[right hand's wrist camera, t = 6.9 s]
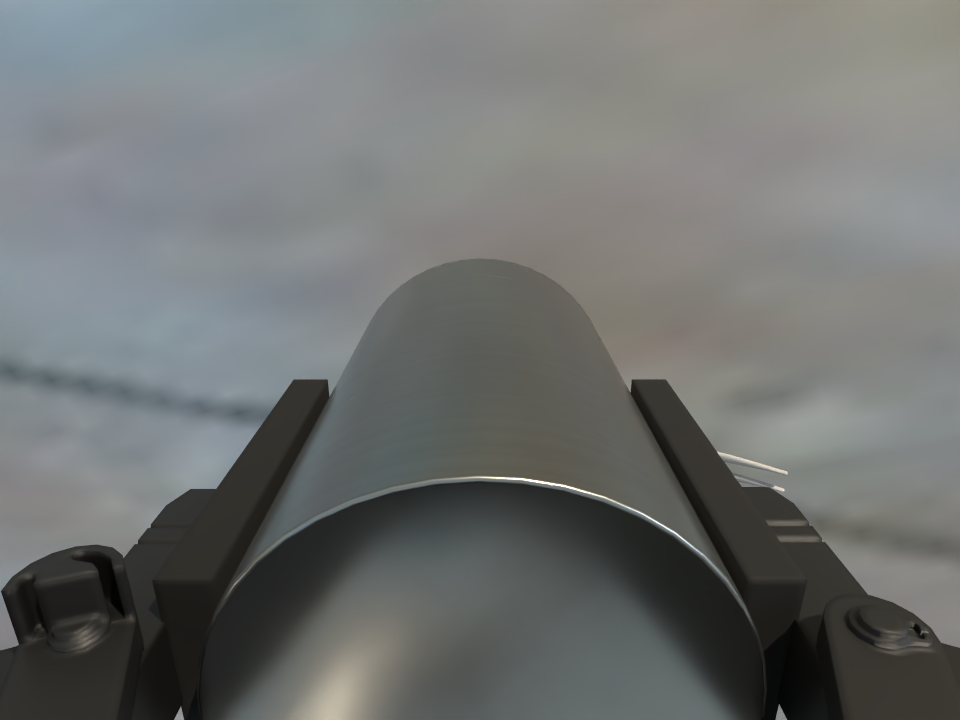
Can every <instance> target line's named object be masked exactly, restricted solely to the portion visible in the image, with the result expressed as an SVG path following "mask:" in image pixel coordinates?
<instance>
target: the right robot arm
mask: <svg viewBox="0 0 960 720" xmlns="http://www.w3.org/2000/svg"><path fill="white" fill-rule="evenodd" d="M631 395H632V397H633V399H634V401H635V402H636V404H637V406H638V408H639V410H640V412H641V413H642V415H643V417H644V419H645V421H646V423H647V424H648V426H649V428H650V430H651V432H652V434H653V435H654V437H655V439H656V441H657V443H658V445H659V446H660V448H661V450H662V452H663V454H664V456H665V457H666V459H667V461H668V463H669V465H670V467H671V468H672V470H673V472H674V474H675V476H676V478H677V479H678V481H679V483H680V485H681V487H682V489H683V490H684V492H685V494H686V496H687V498H688V500H689V501H690V503H691V505H692V507H693V509H694V511H695V512H696V514H697V516H698V518H699V520H700V522H701V523H702V525H703V527H704V529H705V531H706V533H707V534H708V536H709V538H710V540H711V542H712V544H713V545H714V547H715V549H716V551H717V553H718V555H719V556H720V558H721V560H722V562H723V564H724V566H725V567H726V569H727V571H728V573H729V575H730V577H731V578H732V580H733V582H734V584H735V586H736V588H737V589H738V591H739V593H740V595H741V597H742V599H743V600H744V602H745V604H746V606H747V608H748V611H749V613H750V615H751V617H752V620H753V622H754V624H755V626H756V629H757V631H758V634H759V638H760V642H761V646H762V650H763V654H764V658H765V667H766V683H767V694H766V703H765V712H764V720H775V719H776V714H777V710H778V706H779V704H780V706H781V708H782V710H783V712H784V714H785V716H786V718H787V720H960V648H958V647H954V646H950V645H947V644H943V643H941V642H940V641H939V639H938V638H937V636H936V635H935V633H934V632H933V631H932V629H931V628H930V627H929V626H928V625H927V624H925V623H924V622H923V621H922V620H921V619H919V618H918V617H917V616H916V615H915V614H913V613H911V612H909V611H908V610H906V609H904V608H902V607H900V606H898V605H896V604H895V603H893V602H890V601H886V600H883V599H880V598H877V597H874V596H871V595H868V594H867V593H866V592H865V591H864V589H863V588H862V587H861V586H860V584H859V583H858V582H857V581H856V580H855V578H854V577H853V576H852V575H851V573H850V572H849V571H848V570H847V568H846V567H845V566H844V565H843V564H842V562H841V561H840V560H839V559H838V557H837V556H836V555H835V554H834V552H833V551H832V550H831V549H830V548H829V546H828V545H827V544H826V543H825V542H822V538H821V536H820V535H819V534H818V533H817V532H816V530H815V529H814V528H813V527H812V526H809V522H808V520H807V519H806V518H805V517H804V516H803V514H802V513H801V512H800V511H799V509H798V508H797V507H796V506H795V504H794V503H792V502H791V501H789V500H788V499H786V498H785V497H783V496H782V495H780V494H779V493H777V492H776V491H774V490H773V489H771V488H770V487H741V485H740V484H739V482H738V481H737V480H736V478H735V477H734V475H733V474H732V473H731V471H730V470H729V468H728V467H727V465H726V464H725V463H724V461H723V460H722V458H721V457H720V456H719V454H718V453H717V451H716V450H715V448H714V447H713V446H712V444H711V443H710V441H709V440H708V439H707V437H706V436H705V434H704V433H703V432H702V430H701V429H700V427H699V426H698V424H697V423H696V422H695V420H694V419H693V417H692V416H691V415H690V413H689V412H688V410H687V409H686V408H685V406H684V405H683V403H682V402H681V400H680V399H679V398H678V396H677V395H676V393H675V392H674V391H673V389H672V388H671V386H670V385H669V384H668V382H667V381H666V380H632V385H631ZM328 399H329V389H328V380H293V381H292V383H291V384H290V386H289V387H288V389H287V390H286V391H285V393H284V394H283V396H282V397H281V398H280V400H279V401H278V403H277V404H276V406H275V407H274V408H273V410H272V411H271V413H270V414H269V415H268V417H267V418H266V420H265V421H264V422H263V424H262V425H261V427H260V428H259V430H258V431H257V432H256V434H255V435H254V437H253V438H252V439H251V441H250V442H249V444H248V445H247V446H246V448H245V449H244V451H243V452H242V454H241V455H240V456H239V458H238V459H237V461H236V462H235V463H234V465H233V466H232V468H231V469H230V470H229V472H228V473H227V475H226V476H225V478H224V479H223V480H222V482H221V483H220V485H219V486H218V487H217V489H190V490H189V491H187V492H186V493H184V494H183V495H181V496H180V497H178V498H177V499H175V500H174V501H172V502H171V503H169V504H168V505H166V506H165V508H164V509H163V510H162V511H161V513H160V514H159V515H158V516H157V518H156V519H155V520H154V521H153V523H152V524H151V528H148V529H147V530H146V531H145V532H144V534H143V535H142V536H141V537H140V539H139V540H138V544H135V545H134V546H133V547H132V549H131V550H130V551H129V552H128V554H127V555H126V556H125V557H124V559H123V556H122V554H120V553H119V552H118V551H116V550H115V549H114V548H112V547H106V546H101V545H88V546H77V547H73V548H69V549H66V550H62V551H58V552H55V553H52V554H50V555H48V556H46V557H44V558H41V559H39V560H37V561H35V562H33V563H31V564H29V565H28V566H27V567H25V568H24V569H23V570H21V571H20V572H18V573H17V574H16V575H14V576H13V577H12V578H11V579H10V581H9V582H8V583H7V584H6V586H5V587H4V588H3V589H2V591H1V593H2V596H3V599H4V602H5V604H6V607H7V610H8V613H9V616H10V619H11V622H12V625H13V628H14V631H15V634H16V637H17V640H18V643H19V645H18V646H16V647H12V648H9V649H5V650H1V651H0V720H174V718H175V716H176V714H177V713H178V711H179V709H180V707H181V708H182V712H183V716H184V720H200V714H199V707H198V700H197V679H198V663H199V658H200V654H201V649H202V644H203V640H204V636H205V634H206V631H207V629H208V626H209V624H210V622H211V619H212V617H213V614H214V612H215V609H216V607H217V606H218V604H219V602H220V600H221V598H222V596H223V594H224V593H225V591H226V589H227V587H228V585H229V583H230V581H231V580H232V578H233V576H234V574H235V572H236V570H237V568H238V567H239V565H240V563H241V561H242V559H243V557H244V555H245V554H246V552H247V550H248V548H249V546H250V544H251V542H252V541H253V539H254V537H255V535H256V533H257V531H258V529H259V528H260V526H261V524H262V522H263V520H264V518H265V516H266V514H267V513H268V511H269V509H270V507H271V505H272V503H273V501H274V500H275V498H276V496H277V494H278V492H279V490H280V488H281V487H282V485H283V483H284V481H285V479H286V477H287V475H288V474H289V472H290V470H291V468H292V466H293V464H294V462H295V461H296V459H297V457H298V455H299V453H300V451H301V449H302V448H303V446H304V444H305V442H306V440H307V438H308V436H309V435H310V433H311V431H312V429H313V427H314V425H315V423H316V421H317V420H318V418H319V416H320V414H321V412H322V410H323V408H324V407H325V405H326V403H327V401H328Z"/></svg>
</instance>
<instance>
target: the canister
mask: <svg viewBox="0 0 960 720" xmlns="http://www.w3.org/2000/svg"><path fill="white" fill-rule="evenodd" d="M766 694H767V683H766V667H765V658H764V654H763V650H762V646H761V642H760V638H759V634H758V631H757V629H756V626H755V624H754V622H753V620H752V617H751V615H750V613H749V611H748V608H747V606H746V604H745V602H744V600H743V599H742V597H741V595H740V593H739V591H738V589H737V588H736V586H735V584H734V582H733V580H732V578H731V577H730V575H729V573H728V571H727V569H726V567H725V566H724V564H723V562H722V560H721V558H720V556H719V555H718V553H717V551H716V549H715V547H714V545H713V544H712V542H711V540H710V538H709V536H708V534H707V533H706V531H705V529H704V527H703V525H702V523H701V522H700V520H699V518H698V516H697V514H696V512H695V511H694V509H693V507H692V505H691V503H690V501H689V500H688V498H687V496H686V494H685V492H684V490H683V489H682V487H681V485H680V483H679V481H678V479H677V478H676V476H675V474H674V472H673V470H672V468H671V467H670V465H669V463H668V461H667V459H666V457H665V456H664V454H663V452H662V450H661V448H660V446H659V445H658V443H657V441H656V439H655V437H654V435H653V434H652V432H651V430H650V428H649V426H648V424H647V423H646V421H645V419H644V417H643V415H642V413H641V412H640V410H639V408H638V406H637V404H636V402H635V401H634V399H633V397H632V395H631V393H630V391H629V390H628V388H627V386H626V384H625V382H624V380H623V379H622V377H621V375H620V373H619V371H618V369H617V368H616V366H615V364H614V362H613V360H612V358H611V357H610V355H609V353H608V351H607V349H606V347H605V346H604V344H603V342H602V340H601V338H600V336H599V335H598V333H597V331H596V329H595V327H594V325H593V324H592V322H591V320H590V319H589V317H588V316H587V314H586V312H585V311H584V309H583V308H582V307H581V305H580V304H579V303H578V302H577V301H576V300H575V299H574V297H573V296H572V295H571V294H570V293H568V292H567V291H566V290H565V289H564V288H563V287H561V286H560V285H559V284H558V283H556V282H555V281H553V280H552V279H550V278H548V277H547V276H545V275H543V274H541V273H539V272H537V271H535V270H533V269H531V268H528V267H525V266H522V265H519V264H516V263H512V262H507V261H501V260H494V259H469V260H460V261H455V262H450V263H445V264H442V265H440V266H437V267H434V268H431V269H428V270H426V271H424V272H422V273H420V274H418V275H417V276H415V277H413V278H411V279H410V280H409V281H407V282H406V283H404V284H403V285H401V286H400V287H399V288H398V289H397V290H396V291H394V292H393V293H392V294H391V295H390V296H389V297H388V298H387V299H386V300H385V302H384V303H383V304H382V305H381V306H380V308H379V309H378V310H377V312H376V313H375V315H374V316H373V318H372V320H371V321H370V323H369V325H368V327H367V329H366V330H365V332H364V334H363V336H362V338H361V340H360V342H359V343H358V345H357V347H356V349H355V351H354V353H353V355H352V356H351V358H350V360H349V362H348V364H347V366H346V368H345V369H344V371H343V373H342V375H341V377H340V379H339V381H338V382H337V384H336V386H335V388H334V390H333V392H332V394H331V395H330V397H329V399H328V401H327V403H326V405H325V407H324V408H323V410H322V412H321V414H320V416H319V418H318V420H317V421H316V423H315V425H314V427H313V429H312V431H311V433H310V435H309V436H308V438H307V440H306V442H305V444H304V446H303V448H302V449H301V451H300V453H299V455H298V457H297V459H296V461H295V462H294V464H293V466H292V468H291V470H290V472H289V474H288V475H287V477H286V479H285V481H284V483H283V485H282V487H281V488H280V490H279V492H278V494H277V496H276V498H275V500H274V501H273V503H272V505H271V507H270V509H269V511H268V513H267V514H266V516H265V518H264V520H263V522H262V524H261V526H260V528H259V529H258V531H257V533H256V535H255V537H254V539H253V541H252V542H251V544H250V546H249V548H248V550H247V552H246V554H245V555H244V557H243V559H242V561H241V563H240V565H239V567H238V568H237V570H236V572H235V574H234V576H233V578H232V580H231V581H230V583H229V585H228V587H227V589H226V591H225V593H224V594H223V596H222V598H221V600H220V602H219V604H218V606H217V607H216V609H215V612H214V614H213V617H212V619H211V622H210V624H209V626H208V629H207V631H206V634H205V636H204V640H203V644H202V649H201V654H200V658H199V663H198V679H197V700H198V707H199V714H200V720H764V712H765V703H766Z"/></svg>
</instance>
